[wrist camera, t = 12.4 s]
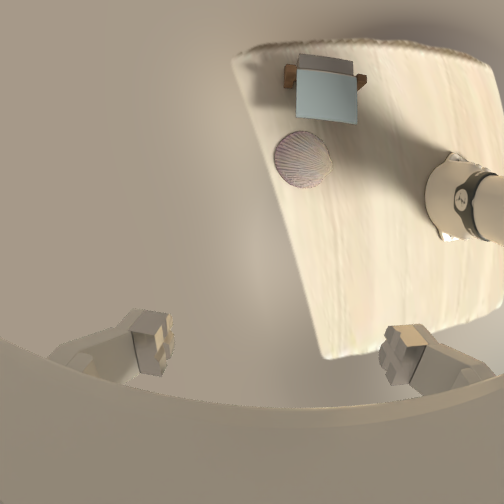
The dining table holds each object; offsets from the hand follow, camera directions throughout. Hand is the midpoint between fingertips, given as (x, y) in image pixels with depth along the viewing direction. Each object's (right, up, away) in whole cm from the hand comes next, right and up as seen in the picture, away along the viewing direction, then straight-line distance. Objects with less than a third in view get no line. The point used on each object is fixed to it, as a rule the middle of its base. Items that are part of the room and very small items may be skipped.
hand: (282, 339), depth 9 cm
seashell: (+8, +19, +37) cm, 42 cm away
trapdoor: (+11, +29, +29) cm, 43 cm away
